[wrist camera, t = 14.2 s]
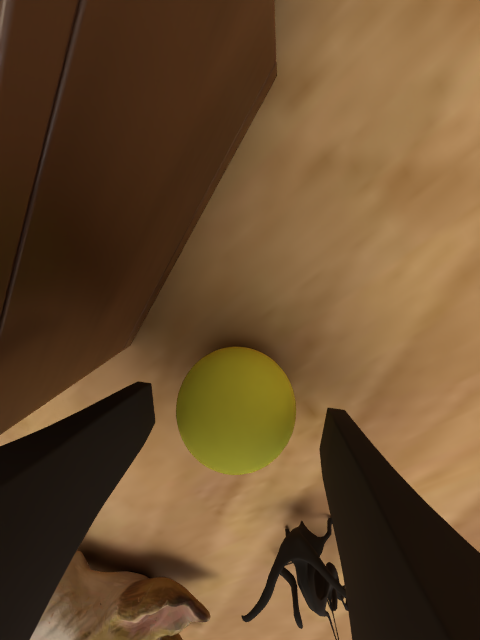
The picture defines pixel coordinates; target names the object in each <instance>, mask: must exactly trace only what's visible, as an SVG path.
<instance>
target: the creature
mask: <svg viewBox="0 0 480 640" xmlns="http://www.w3.org/2000/svg"><path fill="white" fill-rule="evenodd" d="M331 524H333V523H332V519H331V518H328V521H327V525H328V526H327V533H326V534H325V536H323V537H321V538H320V537H317V536H316V535H314V534H313V533H312V532H310V531H309V530H308V529H307V527H306V526H305V525H304V523H303V521H301V523H300V525H299V527H297V528H294V529H293V530H292V531H291V532H290V531H289V529H285V531H286V538H285V539H284V541H283V542H282V544H281V546H280V549H279V552H278V555H277V557H276V559H275V562H274V564H273V566H272V569H271V571H270V574H269V576H268V580H267V583H266V586H265V589H264V591H263V593H262V595H261V597H260V599H259V601H258V602H257V604H256V605H255V606H254V608H253V609H252V610H251V611H250V612H249V613H248V614H247V615H245V616H242V619H243V621H245V622H249V621H251V620H252V619H253V618H255V617H256V616H257V615H258V614H259V613H260V612H261V611H262V610H263V609H264V607H265V606H266V605H267V603H268V602H269V600H270V598H271V596H272V593H273V590H274V587H275V584H276V581H277V578H278V576H279V574H280V575H281V576H283V577H284V578H285V579H286V580H287V582H288V583H289V584H290V586H291V590H292V597H293V609H294V618H295V621H296V623H297V625H298V627H299V628H301V629H302V628H303V625H302V620H301V616H300V612H299V605H298V595H297V584H296V580H295V578H294V576H293V575H292V574H291V573H290V572H289V571H288V570H287V569H286V568H284V566H285V565H288V564H292V563H294V565H295V567H296V574H297V582H298V585H299V588H300V590H301V592H302V594H303V596H304V598H305V601H306V603H307V604H308V606H309V608H310V609H311V610H312V611H314V612H315V613H317V614H318V615H319V616H324V617H325V616H327V617H328V618H329V621H330V624H331V627H332V630H333V633H334V629H333V626H332V622H331V619H330V615H329V613H328V612H327V611H325V608H326V603H327V602H328V600H329V602H328V605H329V607H330V609H331V611H332V614H333V611H336V609H337V599H339V600H341V601H342V602H343V605H344V607H345V609H346V610H347V611H348V604H347V597H346V590H345V585H344V586H342V585H341V584H340V583H339V578H338V573H337V570H336V568H335V566H334V565H333V564H332V563H330V562H328V563H327V564H326V566H325V565H324V563H323V562H322V560H321V559H320V555H321V553H322V550H323V547H324V544H325V542H326V541H327V539H328V538H329V537H330V535H331ZM290 561H292V563H288V562H290ZM287 563H288V564H287ZM344 597H345V598H346V604H345V603H344V601H343V599H344ZM327 598H328V599H327ZM331 600H332V602H331ZM329 603H330V604H329ZM333 618H334V614H333ZM334 622H335V619H334ZM335 627H336V624H335ZM336 631H337V628H336ZM334 636H335V633H334ZM337 636H338V633H337ZM335 639H336V636H335ZM336 640H337V639H336ZM338 640H339V637H338Z"/></svg>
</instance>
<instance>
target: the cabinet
mask: <svg viewBox="0 0 480 640" xmlns="http://www.w3.org/2000/svg"><path fill="white" fill-rule="evenodd" d="M276 76H277V66H276V39H275V5H274V0H0V435H1V434H2V433H3V432H5V431H6V430H8V429H9V428H11V427H12V426H14V425H15V424H17V423H18V422H19V421H21V420H22V419H24V418H25V417H27V416H28V415H30V414H31V413H32V412H34V411H35V410H37V409H38V408H40V407H41V406H43V405H44V404H46V403H47V402H48V401H50V400H51V399H53V398H54V397H56V396H57V395H59V394H60V393H61V392H63V391H64V390H66V389H67V388H69V387H70V386H72V385H73V384H75V383H76V382H77V381H79V380H80V379H82V378H83V377H85V376H86V375H88V374H89V373H91V372H92V371H93V370H95V369H96V368H98V367H99V366H101V365H102V364H104V363H105V362H106V361H108V360H109V359H111V358H112V357H114V356H115V355H117V354H118V353H120V352H121V351H122V350H124V349H126V348H127V347H128V346H130V345H131V343H132V341H133V339H134V337H135V336H136V334H137V332H138V330H139V328H140V326H141V324H142V323H143V321H144V319H145V317H146V315H147V313H148V312H149V310H150V308H151V306H152V304H153V302H154V301H155V299H156V297H157V295H158V293H159V291H160V289H161V288H162V286H163V284H164V282H165V280H166V278H167V277H168V275H169V273H170V271H171V269H172V267H173V266H174V264H175V262H176V260H177V258H178V256H179V254H180V253H181V251H182V249H183V247H184V245H185V243H186V242H187V240H188V238H189V236H190V234H191V232H192V231H193V229H194V227H195V225H196V223H197V221H198V219H199V218H200V216H201V214H202V212H203V210H204V208H205V207H206V205H207V203H208V201H209V199H210V197H211V196H212V194H213V192H214V190H215V188H216V186H217V185H218V183H219V181H220V179H221V177H222V175H223V173H224V172H225V170H226V168H227V166H228V164H229V162H230V161H231V159H232V157H233V155H234V153H235V151H236V150H237V148H238V146H239V144H240V142H241V140H242V138H243V137H244V135H245V133H246V131H247V129H248V127H249V126H250V124H251V122H252V120H253V118H254V116H255V115H256V113H257V111H258V109H259V107H260V105H261V103H262V102H263V100H264V98H265V96H266V94H267V92H268V91H269V89H270V87H271V85H272V83H273V81H274V80H275V78H276Z"/></svg>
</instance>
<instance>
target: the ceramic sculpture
mask: <svg viewBox="0 0 480 640" xmlns="http://www.w3.org/2000/svg"><path fill="white" fill-rule="evenodd" d="M209 620H210V613H209V611H208V610H207V609H206V608H205V607H204V605H202V604H201V603H200V602H199V601H198V600H197V599H196V598H195V597H194V596H193V595H192V594H191V593H190V592H189V591H188V590H187V589H186V588H184V587H183V586H182V585H180V584H179V583H177V582H176V581H174V580H172V579H169V578H166V577H157V578H150V579H149V578H148V577H147V576H144V575H142V574H139V573H133V572H128V571H120V572H100V571H94V570H91V569H90V567H89V565H88V563H87V561H86V559H85V557H84V555H83V554H82V552H81V551H76V553H75V555H74V556H73V558H72V560H71V562H70V564H69V566H68V568H67V569H66V571H65V573H64V575H63V577H62V579H61V580H60V582H59V584H58V586H57V588H56V590H55V592H54V594H53V595H52V597H51V599H50V601H49V603H48V605H47V607H46V609H45V611H44V613H43V615H42V617H41V619H40V621H39V623H38V625H37V627H36V629H35V631H34V632H33V634H32V636H31V638H30V640H183V639H182V638H181V636H180V635H179V633H180V632H181V631H182V630H183V629H184V628H186V627H187V626H188V625H189V624H190V623H191V622H207V621H209Z"/></svg>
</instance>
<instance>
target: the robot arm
mask: <svg viewBox="0 0 480 640" xmlns="http://www.w3.org/2000/svg"><path fill="white" fill-rule="evenodd" d="M154 424H155V414H154V405H153V395H152V386H151V383H144V382H136V383H134V384H132V385H130V386H128V387H126V388H124V389H122V390H120V391H118V392H116V393H114V394H112V395H110V396H108V397H106V398H104V399H102V400H101V401H99V402H97V403H95V404H93V405H91V406H89V407H87V408H85V409H83V410H81V411H79V412H77V413H75V414H73V415H71V416H69V417H67V418H65V419H62V420H60V421H58V422H56V423H54V424H52V425H50V426H48V427H46V428H43V429H41V430H39V431H36V432H34V433H32V434H29V435H27V436H25V437H22V438H20V439H17V440H15V441H13V442H10V443H8V444H5V445H2V446H0V640H30V638H31V636H32V634H33V632H34V631H35V629H36V627H37V625H38V623H39V621H40V619H41V617H42V615H43V613H44V611H45V609H46V607H47V605H48V603H49V601H50V599H51V597H52V595H53V594H54V592H55V590H56V588H57V586H58V584H59V582H60V580H61V579H62V577H63V575H64V573H65V571H66V569H67V568H68V566H69V564H70V562H71V560H72V558H73V556H74V555H75V553H76V551H77V549H78V547H79V546H80V544H81V542H82V540H83V539H84V537H85V535H86V533H87V532H88V530H89V528H90V526H91V525H92V523H93V521H94V519H95V518H96V516H97V514H98V513H99V511H100V510H101V508H102V506H103V505H104V503H105V502H106V500H107V499H108V497H109V496H110V494H111V493H112V491H113V490H114V489H115V487H116V486H117V484H118V483H119V481H120V480H121V478H122V477H123V475H124V474H125V472H126V471H127V469H128V468H129V466H130V465H131V463H132V462H133V460H134V459H135V457H136V456H137V454H138V453H139V451H140V450H141V448H142V447H143V445H144V443H145V442H146V440H147V438H148V436H149V434H150V432H151V430H152V428H153V426H154ZM320 458H321V467H322V476H323V482H324V486H325V491H326V496H327V500H328V505H329V510H330V514H331V519H332V523H333V528H334V532H335V537H336V541H337V546H338V551H339V555H340V560H341V566H342V571H343V577H344V583H345V590H346V597H347V604H348V611H349V618H350V625H351V633H352V640H480V553H479V552H478V551H477V550H476V549H475V548H474V547H473V546H471V545H470V544H469V543H468V542H467V541H466V540H465V539H464V538H463V537H462V536H460V535H459V534H458V533H457V532H456V531H455V530H454V529H453V528H452V527H451V526H450V525H449V524H448V523H447V522H446V521H445V520H444V519H443V518H442V517H441V516H440V515H438V514H437V513H436V512H435V511H434V510H433V509H432V508H431V507H430V506H429V505H428V504H427V503H426V502H425V501H424V500H423V499H422V498H421V497H420V496H419V495H418V494H417V493H416V492H415V491H414V489H413V488H412V487H411V486H410V485H409V484H408V483H407V482H406V481H405V480H404V479H403V478H402V477H401V476H400V475H399V474H398V473H397V471H396V470H395V469H394V468H393V467H392V466H391V465H390V464H389V463H388V461H387V460H386V459H385V458H384V457H383V456H382V455H381V453H380V452H379V451H378V450H377V449H376V448H375V446H374V445H373V444H372V443H371V442H370V440H369V439H368V438H367V437H366V436H365V434H364V433H363V432H362V431H361V430H360V428H359V427H358V426H357V425H356V423H355V422H354V421H353V420H352V418H351V417H350V416H349V415H348V414H347V412H346V411H345V410H341V409H333V408H327V413H326V419H325V424H324V429H323V434H322V439H321V444H320Z"/></svg>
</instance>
